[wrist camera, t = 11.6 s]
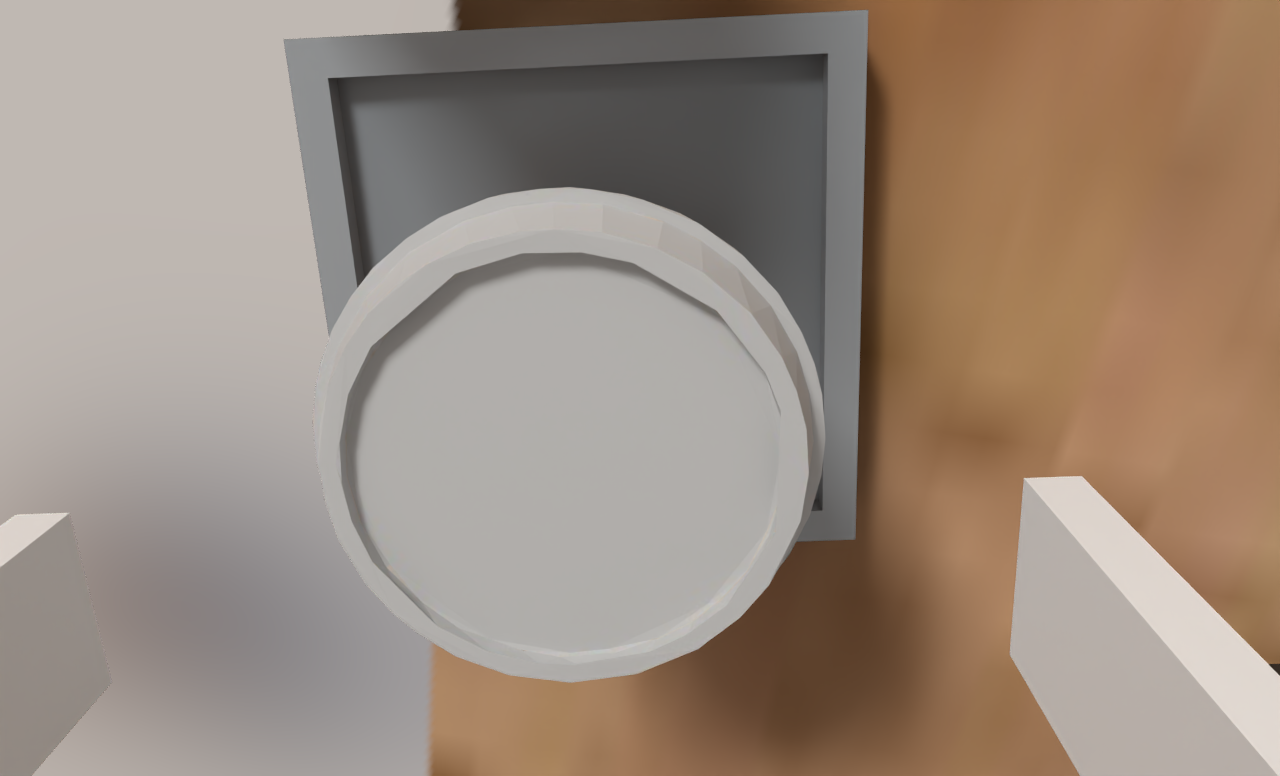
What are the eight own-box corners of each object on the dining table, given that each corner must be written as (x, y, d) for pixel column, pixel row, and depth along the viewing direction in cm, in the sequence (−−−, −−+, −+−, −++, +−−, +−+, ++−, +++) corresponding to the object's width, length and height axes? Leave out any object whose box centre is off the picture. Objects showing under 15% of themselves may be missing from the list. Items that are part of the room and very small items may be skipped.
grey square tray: (851, 12, 28) (868, 9, 26) (841, 506, 32) (855, 539, 30) (312, 39, 28) (283, 39, 26) (381, 524, 33) (362, 558, 31)
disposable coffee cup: (658, 510, 31) (664, 779, 20) (377, 364, 30) (207, 564, 18) (826, 243, 28) (946, 375, 17) (526, 68, 27) (435, 85, 15)
